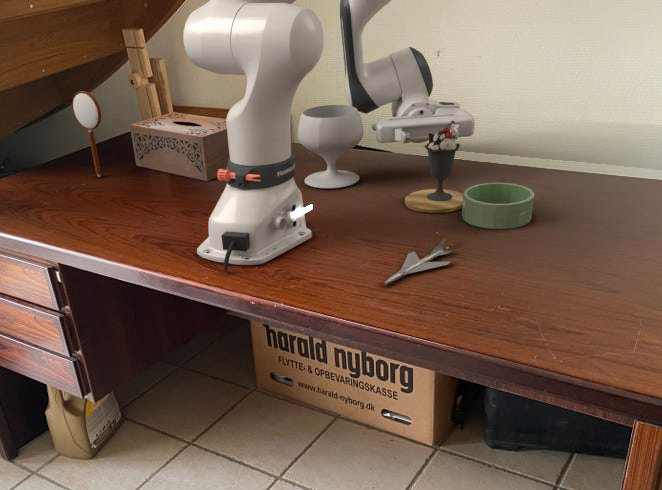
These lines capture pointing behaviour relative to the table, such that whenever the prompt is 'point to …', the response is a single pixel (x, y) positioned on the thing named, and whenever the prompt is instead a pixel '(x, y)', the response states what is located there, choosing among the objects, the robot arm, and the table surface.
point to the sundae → (441, 160)
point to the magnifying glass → (88, 119)
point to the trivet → (433, 202)
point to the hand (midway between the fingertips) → (430, 137)
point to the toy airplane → (420, 263)
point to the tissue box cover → (182, 145)
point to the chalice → (330, 141)
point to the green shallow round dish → (497, 205)
